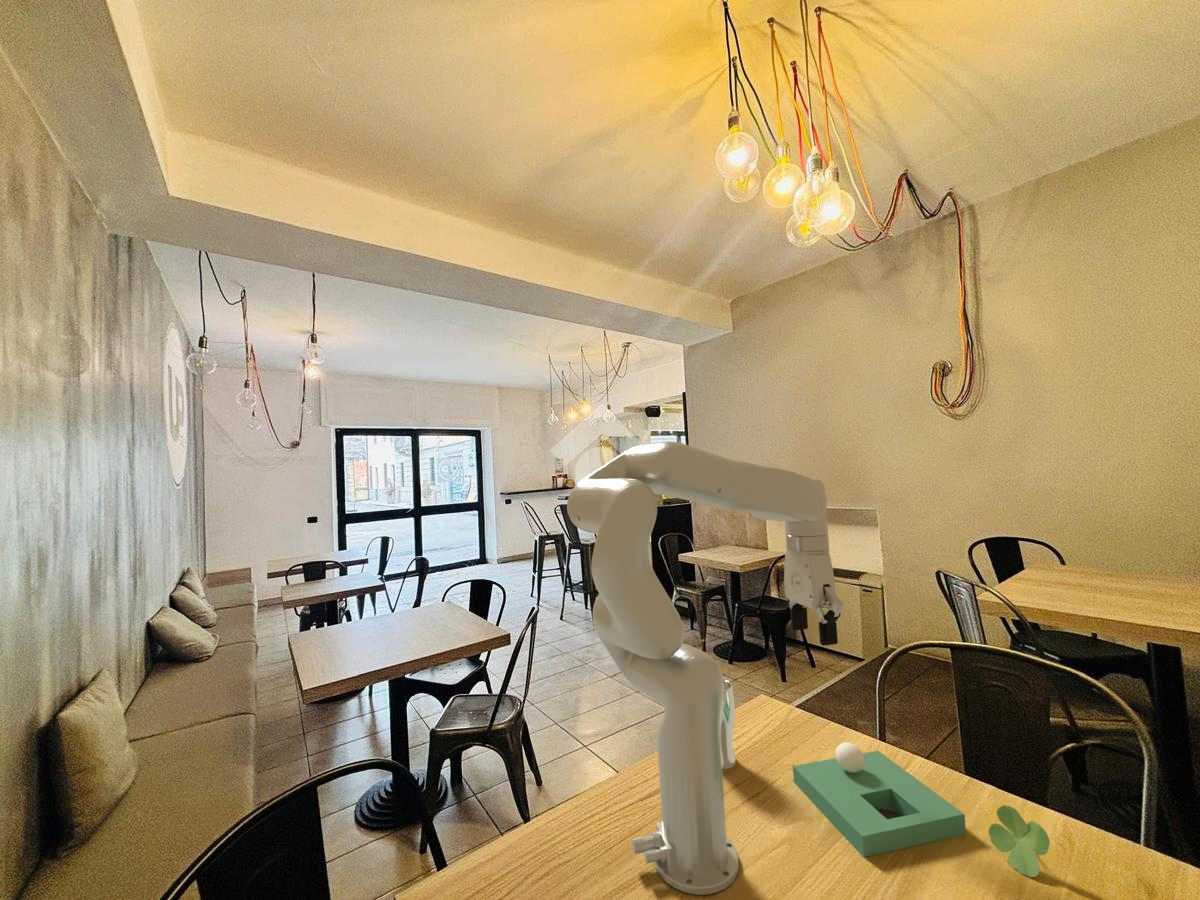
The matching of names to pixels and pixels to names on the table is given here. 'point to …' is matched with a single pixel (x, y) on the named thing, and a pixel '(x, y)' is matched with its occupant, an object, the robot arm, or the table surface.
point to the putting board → (878, 804)
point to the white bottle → (727, 726)
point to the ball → (850, 757)
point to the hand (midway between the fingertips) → (813, 636)
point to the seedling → (1019, 840)
